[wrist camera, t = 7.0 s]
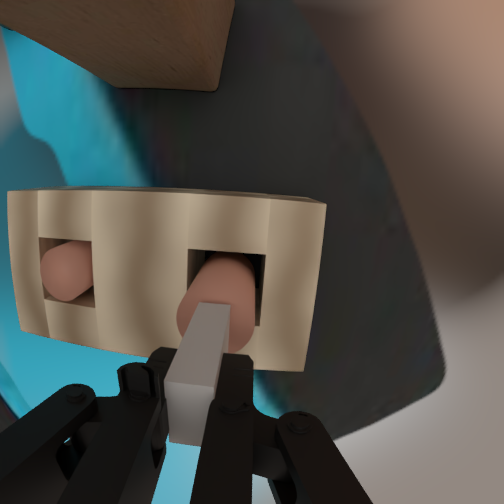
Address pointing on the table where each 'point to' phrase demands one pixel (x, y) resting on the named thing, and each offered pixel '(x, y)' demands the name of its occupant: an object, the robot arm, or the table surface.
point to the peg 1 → (68, 269)
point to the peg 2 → (224, 295)
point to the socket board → (165, 263)
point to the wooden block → (131, 38)
